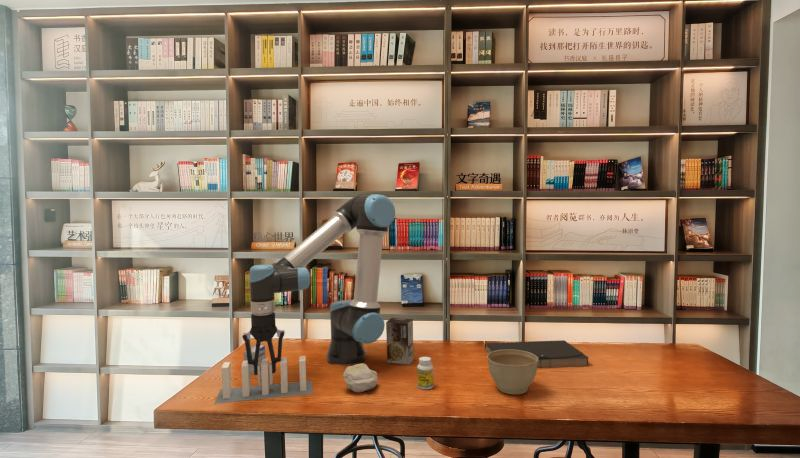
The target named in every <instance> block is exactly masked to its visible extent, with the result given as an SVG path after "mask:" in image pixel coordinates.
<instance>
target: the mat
mask: <svg viewBox="0 0 800 458" xmlns="http://www.w3.org/2000/svg"><path fill="white" fill-rule="evenodd" d="M269 386H270V389H269V394H267V395H262V385H261V386H258V385H251V391H250V395H249V396H247V397H243V394H242V387H231V388H232V392H231V395H230V398H227V399H223V392H222V388H220V389H219V392H218V394H217V396H216V399H215V401H214V405H215V404H224V403H225V404H226V403H234V402H243V401H255V400H256V401H257V400H265V399H274V398H284V397H285V398H286V397H293V396H303V395H313V393H314V392H313V380H306V391H300V381H296V382H288V393H281V383H273V384H271V385H270V384H269Z"/></svg>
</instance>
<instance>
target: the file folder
mask: <svg viewBox="0 0 800 458" xmlns="http://www.w3.org/2000/svg"><path fill="white" fill-rule="evenodd" d="M509 349H510V350H521V351H526V352H529V353H532V354H534V355H536V356H537V357H538V363H537V369H539V368H540V369H542V368H558V367H559V368H560V367H589V360H590V359H589V356H587V355H586V354H584V353H583V352H582V351H581V350H580V349H578V348H576V347H574V346H573V345H572V344H570V343H569V342H567V341H566V340H563V339H562V340H540V341H539V340H536V341H513V342H512V341H511V342H508V341H507V342H505V341H504V342H485V344H484V350H485V351H486V352H487V353H488V354H489V353H491V352H493V351H497V350H509Z"/></svg>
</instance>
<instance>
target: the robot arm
mask: <svg viewBox="0 0 800 458" xmlns="http://www.w3.org/2000/svg"><path fill="white" fill-rule="evenodd" d="M395 217H396V208H395V205H394V203H393V201H392V200H391V199H390V198H389V197H387V196H386V195H382V194H379V193H376V194H374V193H372V194H359V195H355V196H353V197H352V198H350V199H348V200H347V201H345V203H343V204H342V205H341V206H340V207H338V208H337V209H336V210H335V211H334V212H333V215H332V217H331V218H330V219H328V220H327V221H326V222H325V223H324V224H322V225H321V226H320V227H319V228H317V229H316V230H315V231H314V232H312V233H311V234H310V235H309V236H308V237H306V238H305V239H304V240H302V242H300V243H299V244H298V245H297V246H296V247H294V248H293V249H291V251H289V252H288V253H287V254H286V255H285V256H283V257H282V258H281V259H279V260H278V261H277V262H272V263H270V264H256V265H253V266H251V267H250V268H249V280H248V283H249V293H250V295H249V296H250V313H251V314H250V319H251V320H250V323H251V327H250V330H249V331H248V332H244V333H243V334H242V336H241V338H242V340H243V341H244V345H245V351H246V353H247V361H248V364H252V365H253V366H254V374H253V375H254V376H257V386H262V375H261V363H258V359H259V351H260V345H261V343H262V342H266V344H267V348H268V352H269V357H270V361H271V362H269V385H272V384H274V379H273V378H274V377H273V375H274V374H276V371H277V366H276V365H277V363H279V362H280V361H281V358H282V349H283V338H284V337H285V330H284V329H282V330H281V329H278V327H277V326H276V313H275V311H276V304H275V303H276V300H275V295H276V294H279V293H288V292H296V291H299V292H300V291H301V290H302V291H303V290H307V289H308V288H309V286H310V284H311V275H310V271H309V270H308V268H307V267H306V266H307V265H308V264H309V263H311V261H313V260H314V259H315V258H316V257H318V256H319V255H320V254H321V253H322V252H323V251H324V250H326V249H327V248H328V247H329V246H330V245H332V244H333V243H334V242H335V241H337V240H338V239H339V238H341V237H342V235H344V234H345V233H346V232H347V233H348V232H349V233H350V232H351V231H352V230H354V229H355V228H356V231H357V232H358V233H359V241H358V253H357V259H356V260H357V261H356V271H355V272H356V274H355V283H354V292H353V293H354V295H353V299H346V300H337V301H334V302H332V303H331V304H330V306H329V307H330V311H329V313H330V314H329V315H330V319H329V320H330V337H331V338H330V342H329V347H328V350H327V352H326V353H327V354H326V359H327V362H328V363H329V364H333V365H356V364H361V363H362V362H363V361H365V360H366V358H367V357H366V356H367V355H366V350H365V349H366V348H365V346H364V344H366V345H368V344H372V343H375V342H376V341H377V340H379V338H381V336H383V335H382V334H383V333H384V330H385V327H386V323H385V320H384V318H383V317H382V315H381V304H379V302H378V293H379V284H380V273H381V265H382V264H381V262H382V261H381V260H382V250H383V242H384V241H383V240H384V237H385V236H386V235H387V234H388V232H389V226H390V225H391V224H392V223H394V220H395ZM275 334H277V335H276V336H277V338H278V340H277V341H278V342H277V356H276V355H275V348H274V344H273V337H274V336H275ZM252 337H253V338H254V339H255V342H256V343H255V345H256V349H255V357H254V360H253V359H252V353H251V347H252V346H251V340H250V339H251V338H252Z"/></svg>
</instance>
